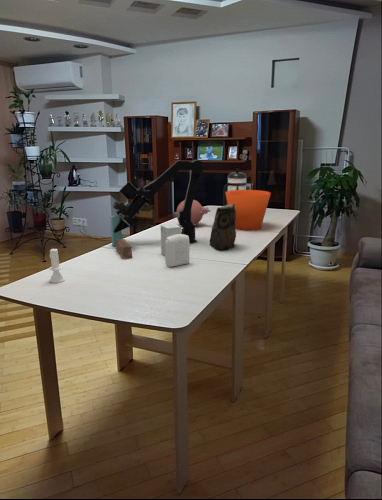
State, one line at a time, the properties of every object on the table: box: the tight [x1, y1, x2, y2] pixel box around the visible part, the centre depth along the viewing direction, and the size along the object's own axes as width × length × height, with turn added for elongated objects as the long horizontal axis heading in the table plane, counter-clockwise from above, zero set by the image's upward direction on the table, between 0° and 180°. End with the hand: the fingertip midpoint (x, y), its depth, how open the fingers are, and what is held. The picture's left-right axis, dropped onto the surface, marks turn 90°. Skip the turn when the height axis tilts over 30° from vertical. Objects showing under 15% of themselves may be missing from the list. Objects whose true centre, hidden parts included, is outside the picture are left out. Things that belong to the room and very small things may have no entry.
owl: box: [209, 204, 237, 252], centre depth 175 cm, size 13×13×20 cm
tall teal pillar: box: [109, 214, 123, 248], centre depth 180 cm, size 4×4×14 cm
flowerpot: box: [225, 189, 272, 232], centre depth 216 cm, size 25×25×20 cm
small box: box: [160, 223, 182, 256], centre depth 165 cm, size 8×6×13 cm
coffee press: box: [222, 168, 248, 206], centre depth 254 cm, size 17×16×30 cm
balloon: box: [176, 199, 211, 226], centre depth 221 cm, size 15×20×15 cm
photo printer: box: [164, 234, 190, 268], centre depth 153 cm, size 10×4×12 cm, turn 123°
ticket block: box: [115, 238, 133, 260], centre depth 168 cm, size 4×14×5 cm, turn 22°
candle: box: [48, 248, 66, 284], centre depth 136 cm, size 5×5×12 cm
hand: (113, 231), depth 180 cm, fingers closed on tall teal pillar, 4 cm apart
